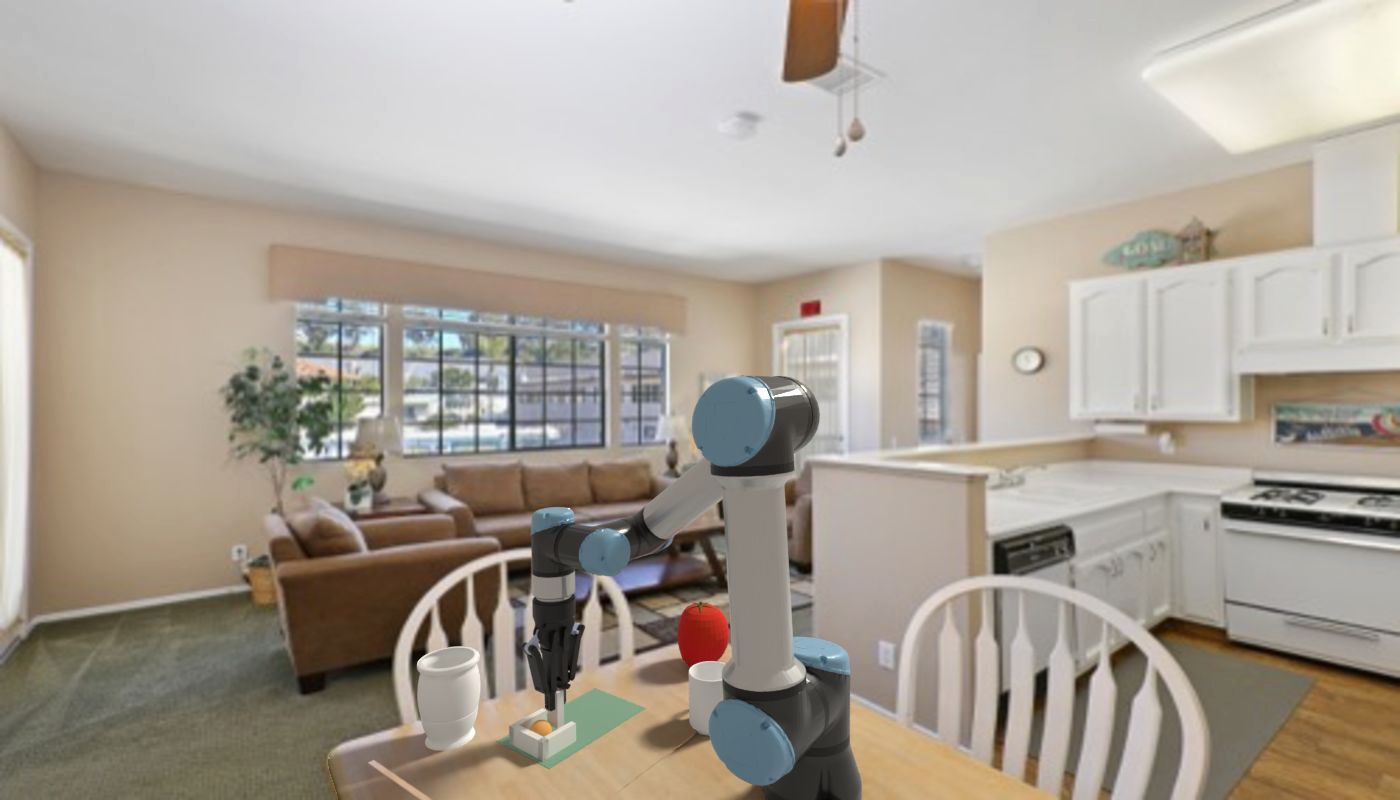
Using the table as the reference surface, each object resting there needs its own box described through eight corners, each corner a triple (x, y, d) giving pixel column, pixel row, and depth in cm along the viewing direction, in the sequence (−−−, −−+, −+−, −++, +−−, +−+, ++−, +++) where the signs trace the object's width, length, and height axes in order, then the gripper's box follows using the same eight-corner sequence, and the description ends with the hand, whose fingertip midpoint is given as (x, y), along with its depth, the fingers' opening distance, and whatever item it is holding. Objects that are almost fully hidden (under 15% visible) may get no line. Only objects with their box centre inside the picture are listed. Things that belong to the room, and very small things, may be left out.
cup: (688, 736, 115) (688, 681, 115) (689, 703, 127) (689, 653, 127) (734, 736, 115) (734, 681, 115) (731, 703, 127) (731, 652, 127)
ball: (556, 742, 113) (557, 720, 113) (539, 752, 110) (540, 729, 110) (540, 734, 115) (541, 712, 115) (523, 744, 112) (524, 722, 112)
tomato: (708, 648, 153) (707, 590, 153) (740, 664, 144) (740, 602, 144) (665, 664, 145) (665, 602, 145) (697, 681, 136) (697, 616, 136)
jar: (456, 718, 122) (454, 641, 122) (493, 733, 117) (492, 652, 116) (405, 746, 113) (403, 662, 113) (444, 764, 108) (442, 676, 107)
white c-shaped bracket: (576, 741, 113) (575, 723, 113) (543, 761, 107) (542, 742, 107) (542, 725, 119) (542, 708, 118) (509, 743, 113) (509, 725, 113)
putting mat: (646, 711, 124) (645, 708, 124) (549, 772, 105) (549, 768, 105) (595, 690, 133) (595, 688, 133) (496, 744, 113) (496, 741, 113)
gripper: (567, 581, 122) (569, 703, 123) (510, 601, 112) (512, 734, 112) (595, 589, 118) (596, 715, 118) (538, 610, 107) (540, 748, 108)
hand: (555, 724), depth 115 cm, fingers closed
